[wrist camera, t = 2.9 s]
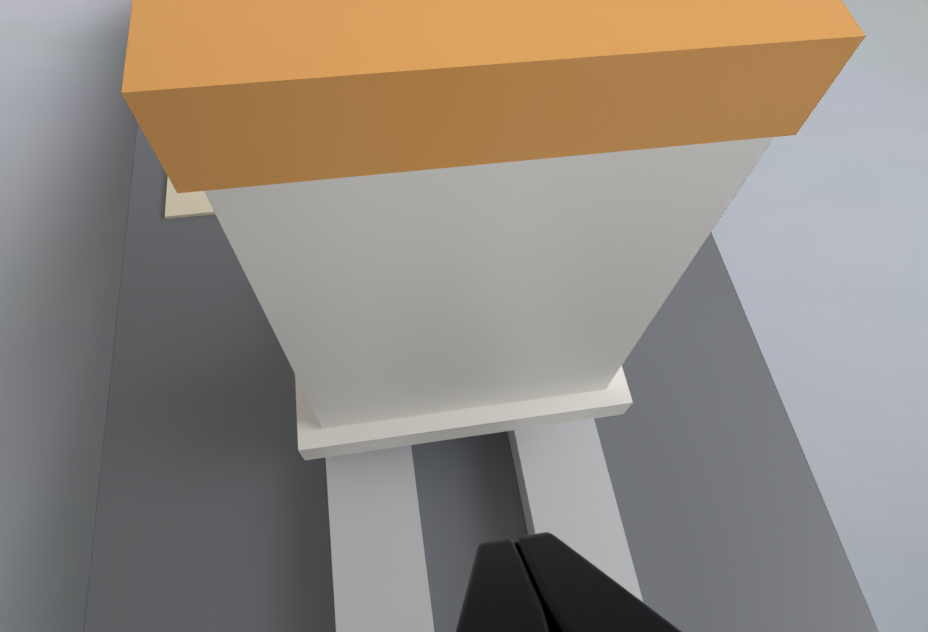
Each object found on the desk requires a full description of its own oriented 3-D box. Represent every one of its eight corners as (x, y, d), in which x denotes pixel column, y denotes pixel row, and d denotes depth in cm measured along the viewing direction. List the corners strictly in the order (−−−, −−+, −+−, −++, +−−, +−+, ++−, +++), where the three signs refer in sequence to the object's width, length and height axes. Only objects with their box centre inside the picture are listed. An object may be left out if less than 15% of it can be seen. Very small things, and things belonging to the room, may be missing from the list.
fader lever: (600, 442, 13) (911, 62, 4) (320, 483, 12) (81, 129, 4) (566, 312, 14) (753, -161, 6) (312, 344, 13) (126, -137, 5)
